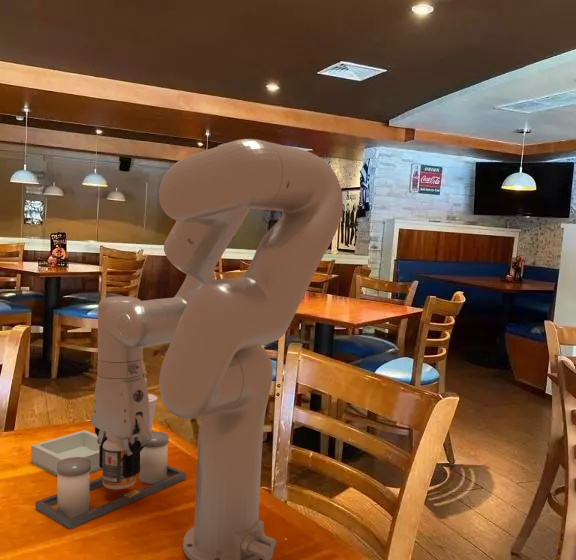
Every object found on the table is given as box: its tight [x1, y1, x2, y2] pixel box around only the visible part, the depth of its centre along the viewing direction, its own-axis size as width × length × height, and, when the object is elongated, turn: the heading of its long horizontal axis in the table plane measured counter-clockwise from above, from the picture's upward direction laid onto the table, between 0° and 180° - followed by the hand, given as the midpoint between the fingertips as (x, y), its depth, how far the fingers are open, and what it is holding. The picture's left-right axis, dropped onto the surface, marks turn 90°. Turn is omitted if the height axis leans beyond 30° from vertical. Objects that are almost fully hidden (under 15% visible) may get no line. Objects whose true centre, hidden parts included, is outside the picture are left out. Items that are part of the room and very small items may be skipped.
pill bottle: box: [101, 430, 137, 490], centre depth 103 cm, size 6×6×10 cm
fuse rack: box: [34, 464, 187, 530], centre depth 104 cm, size 10×25×1 cm, turn 144°
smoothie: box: [133, 377, 158, 439], centre depth 128 cm, size 6×6×14 cm
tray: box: [30, 429, 102, 477], centre depth 116 cm, size 12×12×4 cm
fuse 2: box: [138, 431, 170, 485], centre depth 111 cm, size 5×5×8 cm
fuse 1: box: [56, 457, 91, 518], centre depth 97 cm, size 5×5×8 cm
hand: (119, 469), depth 103 cm, fingers closed on pill bottle, 5 cm apart
